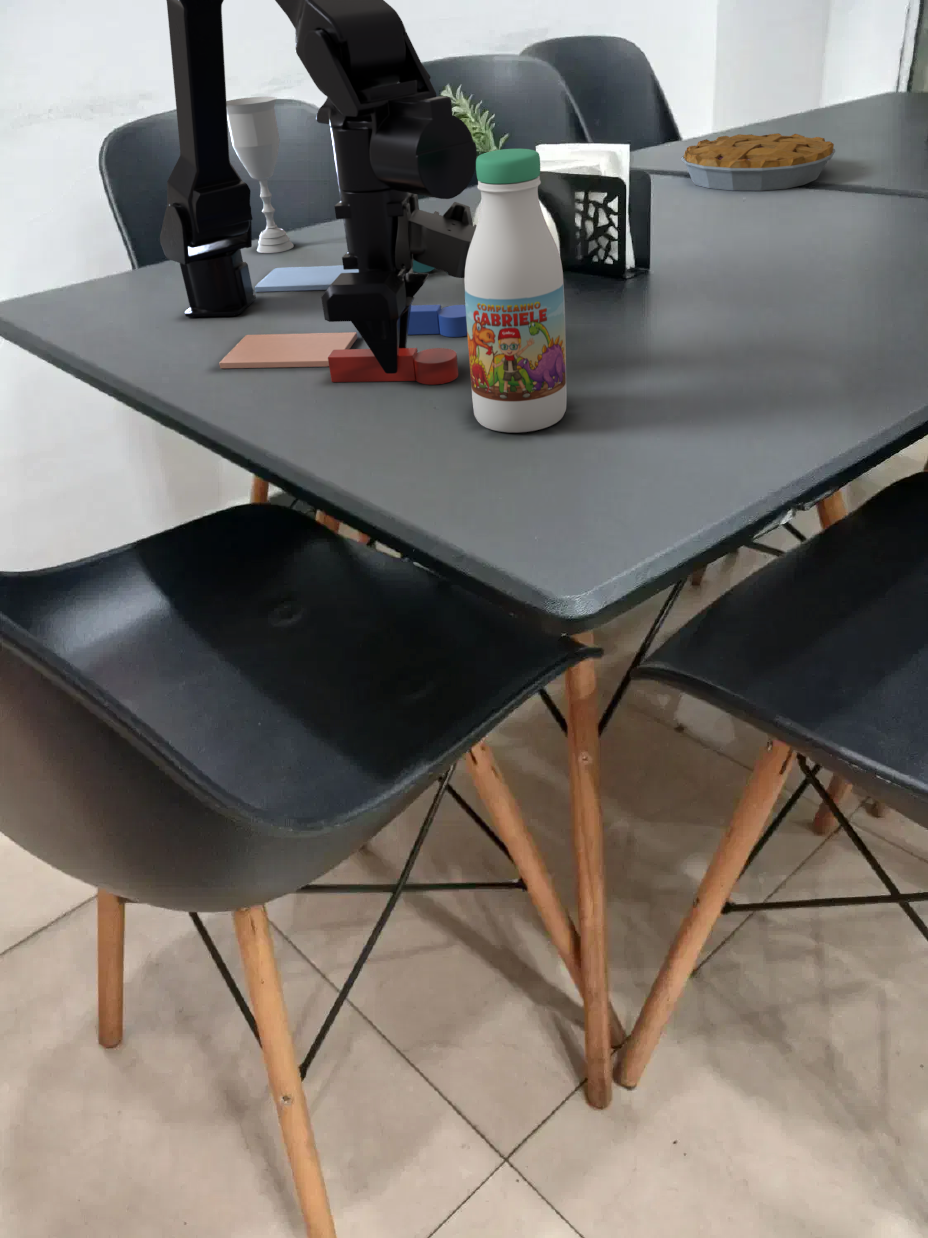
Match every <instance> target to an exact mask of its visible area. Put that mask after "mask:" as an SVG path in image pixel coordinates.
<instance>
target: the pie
mask: <svg viewBox="0 0 928 1238" xmlns="http://www.w3.org/2000/svg"><path fill="white" fill-rule="evenodd" d="M834 147H835V144H834V142H831V141H830V140H829V141H826V139H825V137H820V136H815V137H807V136H805V135H801V134H798V133H794V134H791V135H782V134H781V133H778V132H777V133H769V134H763V135H756V134H755V135H754V134H753V133H752V134H741V133H739V134H736V135H732V136H728V135H721V136H717V137H716V139H715V140H709V139H708V138H706V139H703V140H699V141H698V142H697V144H696V145H688V146H687V147H686V150H684V154H683V155H682V156H681V158H680V159H681V161H682V162H683V163H684V164H685V166H686V169H687V171H688V173H689V177H690V179H691V181H692V182H693V184H694V185H695V186H699V187H703V188H707V189H714V190H715V189H716V190H724V191H741V192H742V191H746V192H747V191H751V192H753V191H755V192H756V191H757V192H759V191H760V192H761V191H762V192H763V191H775V190H776V191H777V190H786V189H791V188H795V187H800V186H804V185H808V184H809V183H812V182H814V181H817V179H818V178H819V176H820V174H821V173H822V171H823V170H824V168H825V166H826V164H827V162H828V161H830V160H831V159H832V158H833V157H834V155H835V153H836V149H835V148H834Z"/></svg>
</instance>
